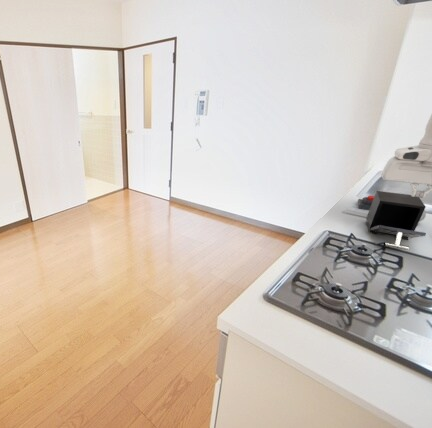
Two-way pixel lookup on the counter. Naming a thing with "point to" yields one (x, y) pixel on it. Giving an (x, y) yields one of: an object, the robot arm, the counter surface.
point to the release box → (364, 203)
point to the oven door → (397, 235)
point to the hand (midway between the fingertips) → (417, 196)
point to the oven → (395, 211)
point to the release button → (370, 198)
